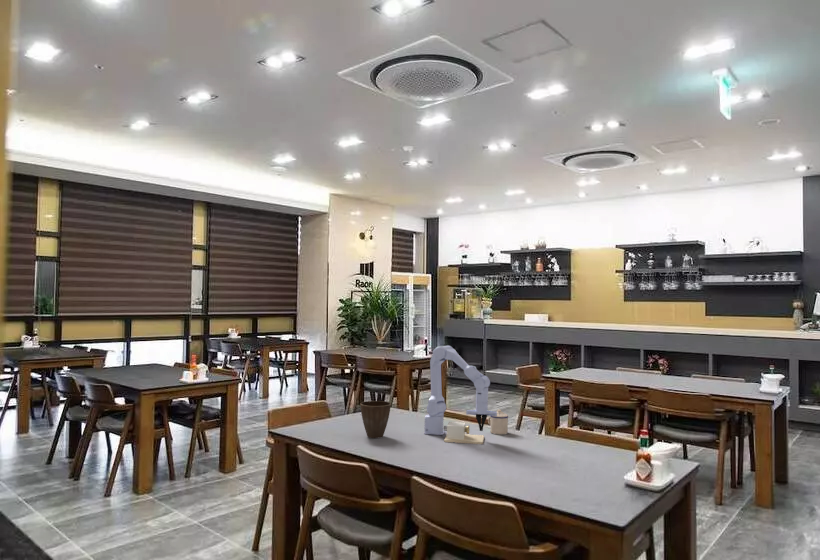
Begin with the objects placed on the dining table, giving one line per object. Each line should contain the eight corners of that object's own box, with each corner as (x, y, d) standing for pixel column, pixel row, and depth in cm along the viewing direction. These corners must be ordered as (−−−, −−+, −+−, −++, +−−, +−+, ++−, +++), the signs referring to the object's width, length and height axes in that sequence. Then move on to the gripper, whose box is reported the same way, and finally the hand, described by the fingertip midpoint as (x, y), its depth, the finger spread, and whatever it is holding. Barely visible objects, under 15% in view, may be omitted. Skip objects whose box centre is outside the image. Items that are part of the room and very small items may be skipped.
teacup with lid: (511, 433, 289) (512, 410, 290) (499, 435, 284) (499, 412, 284) (494, 429, 299) (494, 406, 299) (482, 431, 293) (482, 408, 294)
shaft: (443, 433, 274) (443, 425, 274) (444, 431, 278) (444, 423, 278) (468, 434, 272) (468, 426, 272) (469, 432, 276) (469, 424, 276)
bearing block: (444, 441, 269) (444, 426, 269) (447, 435, 283) (447, 420, 283) (482, 444, 266) (482, 428, 266) (483, 437, 280) (484, 422, 280)
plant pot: (354, 438, 273) (354, 404, 273) (367, 431, 286) (368, 399, 287) (382, 441, 267) (383, 407, 268) (395, 435, 281) (395, 402, 281)
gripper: (466, 402, 271) (465, 431, 270) (496, 404, 268) (496, 433, 268) (467, 399, 278) (466, 428, 277) (497, 401, 275) (496, 430, 275)
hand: (481, 430), depth 273 cm, fingers closed
